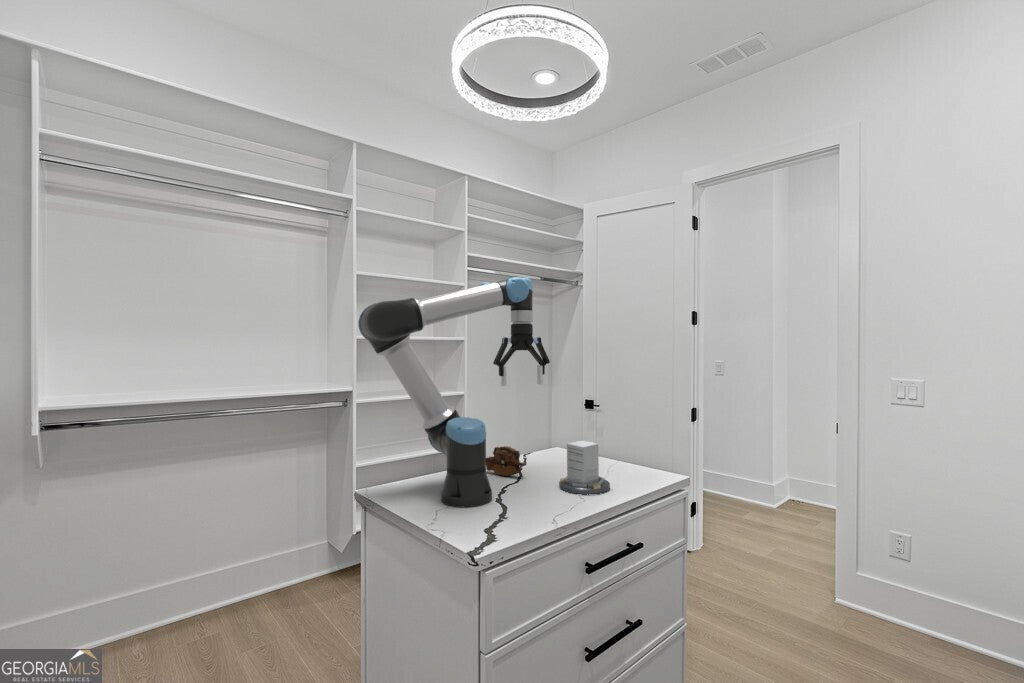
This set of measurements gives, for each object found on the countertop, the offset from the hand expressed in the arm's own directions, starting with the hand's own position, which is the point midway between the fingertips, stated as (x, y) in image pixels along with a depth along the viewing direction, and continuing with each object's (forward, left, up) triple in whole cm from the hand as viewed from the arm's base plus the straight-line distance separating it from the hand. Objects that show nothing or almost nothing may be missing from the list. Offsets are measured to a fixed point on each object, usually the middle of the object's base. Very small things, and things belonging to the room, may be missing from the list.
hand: (522, 385), depth 172 cm
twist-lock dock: (+13, -19, -32) cm, 39 cm away
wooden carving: (-5, +5, -32) cm, 33 cm away
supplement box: (+13, -19, -30) cm, 38 cm away
